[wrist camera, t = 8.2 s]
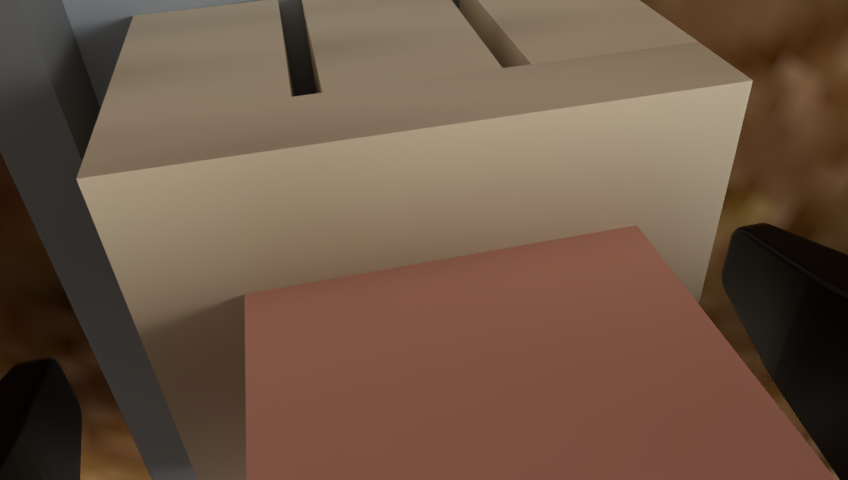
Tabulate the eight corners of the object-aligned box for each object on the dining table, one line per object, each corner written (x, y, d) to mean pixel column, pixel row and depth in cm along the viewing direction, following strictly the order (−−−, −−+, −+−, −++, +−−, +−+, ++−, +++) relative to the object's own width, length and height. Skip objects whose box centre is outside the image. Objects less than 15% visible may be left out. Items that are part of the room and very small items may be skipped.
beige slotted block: (555, 332, 14) (648, 511, 11) (245, 390, 13) (247, 603, 10) (586, -38, 10) (753, 80, 7) (133, 15, 9) (76, 179, 6)
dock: (535, 329, 17) (596, 448, 14) (189, 399, 16) (182, 544, 13) (568, -223, 10) (695, -202, 8) (-24, -176, 9) (-132, -130, 6)
